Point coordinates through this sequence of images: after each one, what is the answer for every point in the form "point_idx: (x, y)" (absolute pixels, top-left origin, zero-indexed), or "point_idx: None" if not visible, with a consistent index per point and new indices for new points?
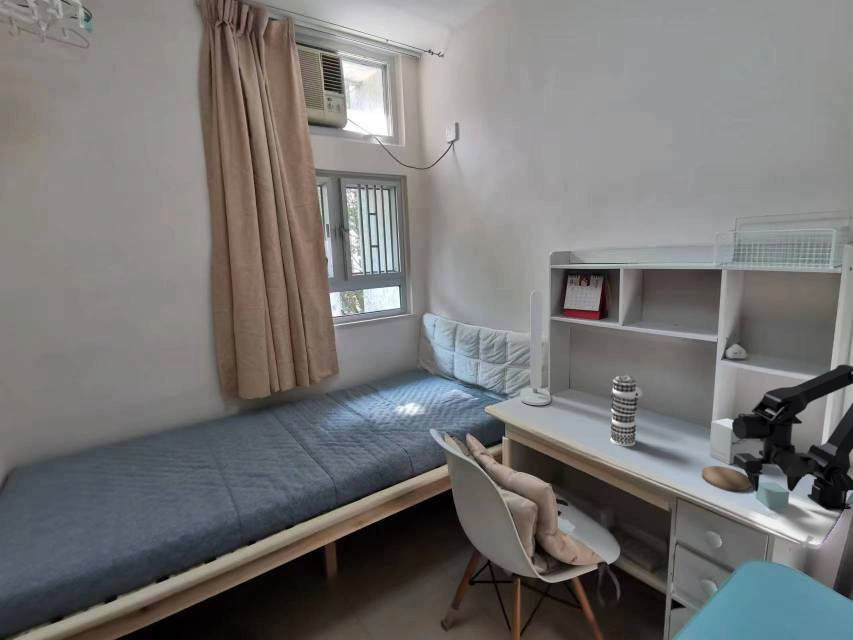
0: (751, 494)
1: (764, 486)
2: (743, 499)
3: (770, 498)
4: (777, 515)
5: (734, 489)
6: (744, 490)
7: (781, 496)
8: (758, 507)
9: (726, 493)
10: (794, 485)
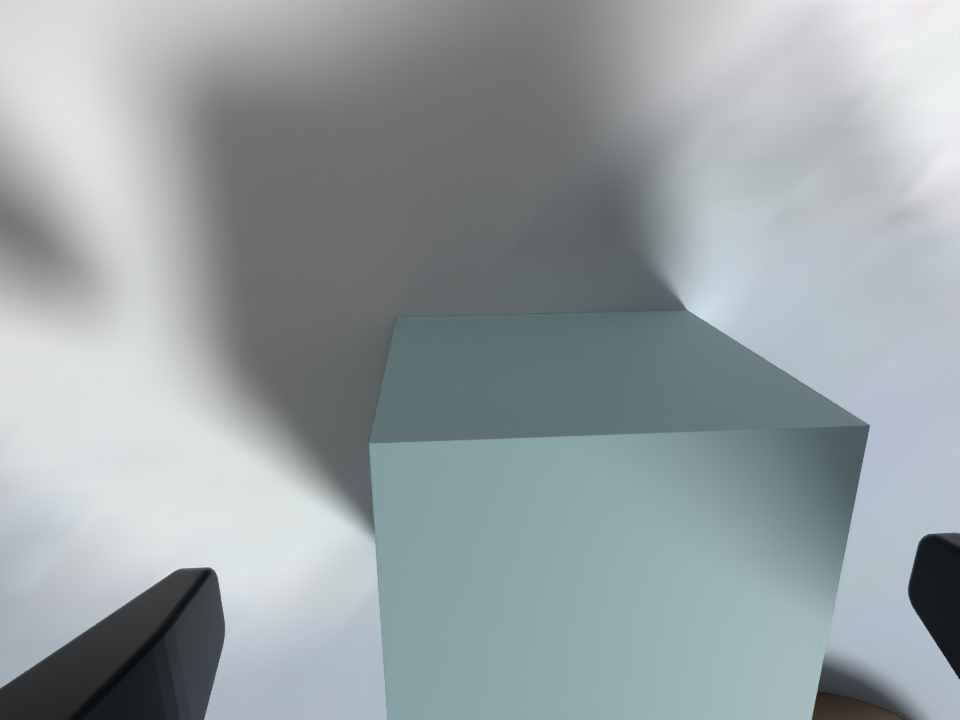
0: None
1: (775, 654)
2: None
3: (754, 365)
4: (694, 123)
5: (819, 711)
6: None
7: (546, 387)
8: (805, 337)
9: None
10: (87, 665)
